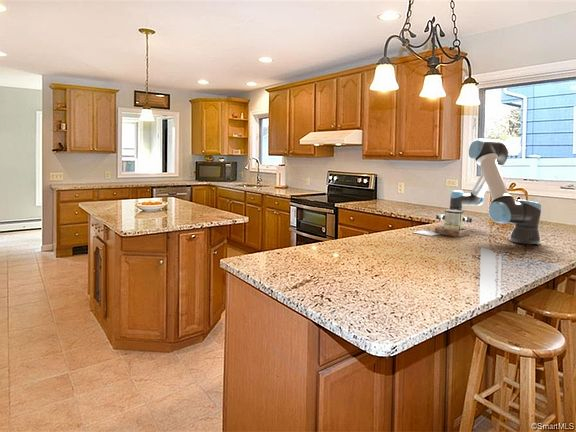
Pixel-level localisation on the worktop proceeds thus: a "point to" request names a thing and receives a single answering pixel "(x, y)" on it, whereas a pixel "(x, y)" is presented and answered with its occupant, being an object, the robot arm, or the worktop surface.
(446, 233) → the wooden tray
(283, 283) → the worktop surface
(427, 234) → the rubber mat
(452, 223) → the coffee can
